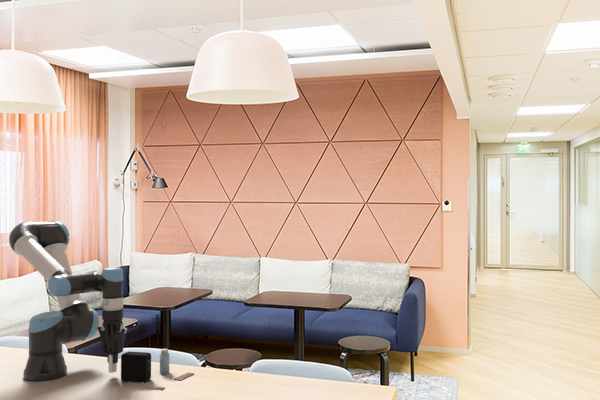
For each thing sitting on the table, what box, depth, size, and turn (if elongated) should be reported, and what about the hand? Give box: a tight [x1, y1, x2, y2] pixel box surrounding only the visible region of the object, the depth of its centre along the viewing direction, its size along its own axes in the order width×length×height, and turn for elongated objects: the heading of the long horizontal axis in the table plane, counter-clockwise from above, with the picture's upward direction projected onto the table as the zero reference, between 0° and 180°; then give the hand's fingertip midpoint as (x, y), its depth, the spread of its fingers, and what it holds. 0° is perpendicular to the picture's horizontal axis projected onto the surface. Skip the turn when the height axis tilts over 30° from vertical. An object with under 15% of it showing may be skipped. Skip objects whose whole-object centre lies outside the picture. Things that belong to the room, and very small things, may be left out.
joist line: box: [154, 372, 195, 391], centre depth 205 cm, size 3×20×1 cm, turn 158°
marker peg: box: [159, 348, 170, 375], centre depth 216 cm, size 4×4×9 cm
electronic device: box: [120, 351, 152, 384], centre depth 206 cm, size 4×10×10 cm, turn 78°
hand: (112, 371), depth 210 cm, fingers closed
